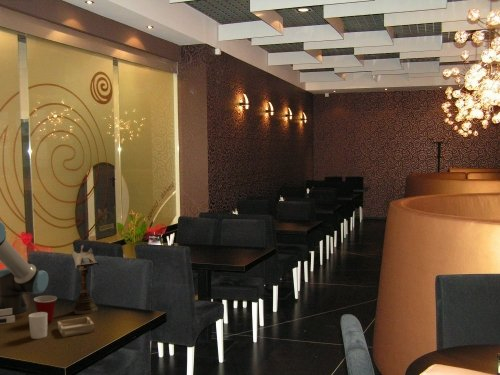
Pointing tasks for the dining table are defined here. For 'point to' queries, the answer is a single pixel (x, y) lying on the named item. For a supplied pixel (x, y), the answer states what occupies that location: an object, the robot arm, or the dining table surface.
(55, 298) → the plastic cup
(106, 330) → the dining table surface
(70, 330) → the birch crate
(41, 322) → the white cup
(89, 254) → the bird statue
